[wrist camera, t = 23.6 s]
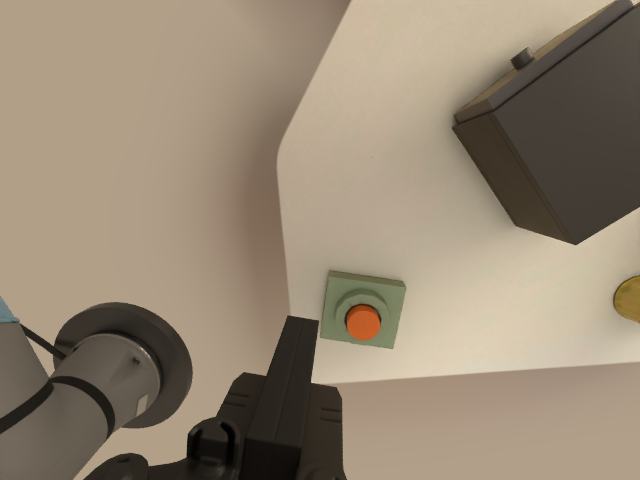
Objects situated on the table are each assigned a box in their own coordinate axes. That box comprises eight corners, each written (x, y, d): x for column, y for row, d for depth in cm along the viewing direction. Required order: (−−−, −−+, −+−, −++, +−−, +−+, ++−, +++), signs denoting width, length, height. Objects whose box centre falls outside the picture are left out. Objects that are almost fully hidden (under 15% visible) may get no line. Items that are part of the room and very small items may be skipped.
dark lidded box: (451, 128, 35) (492, 112, 25) (561, 45, 32) (654, -7, 23) (515, 226, 37) (576, 245, 28) (623, 156, 34) (732, 151, 25)
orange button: (344, 330, 38) (344, 337, 36) (349, 302, 37) (349, 308, 35) (375, 335, 38) (377, 342, 36) (380, 306, 37) (382, 313, 35)
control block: (320, 329, 42) (318, 345, 38) (329, 270, 40) (328, 281, 36) (390, 340, 42) (395, 357, 38) (402, 281, 40) (409, 293, 36)
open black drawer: (447, 105, 34) (479, 86, 26) (551, 26, 31) (620, -21, 24) (514, 209, 36) (562, 219, 28) (616, 141, 33) (699, 133, 26)
